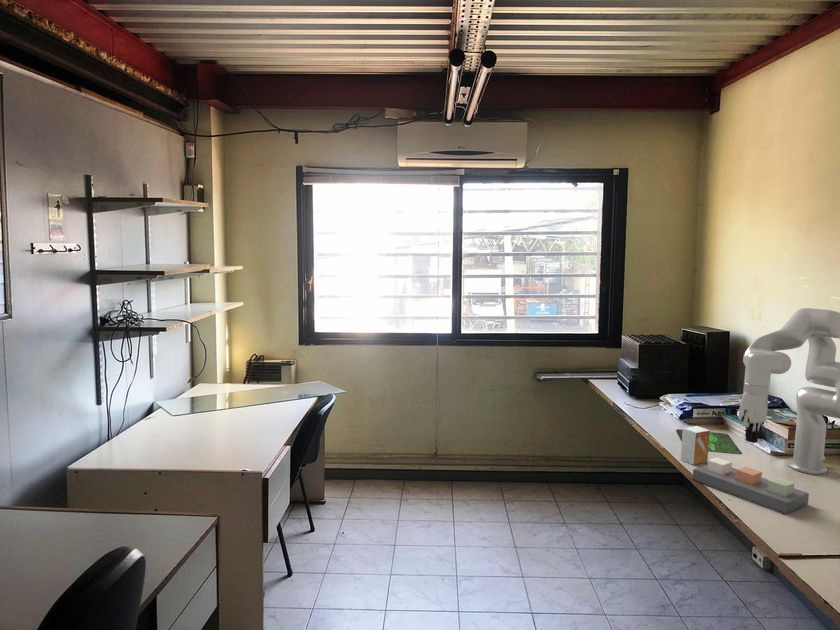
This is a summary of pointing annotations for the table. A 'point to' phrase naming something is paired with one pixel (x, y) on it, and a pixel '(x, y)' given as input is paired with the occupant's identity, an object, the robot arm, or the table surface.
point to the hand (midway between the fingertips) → (751, 441)
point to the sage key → (781, 486)
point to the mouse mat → (718, 443)
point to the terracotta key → (748, 476)
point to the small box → (695, 445)
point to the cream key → (719, 466)
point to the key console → (751, 490)
